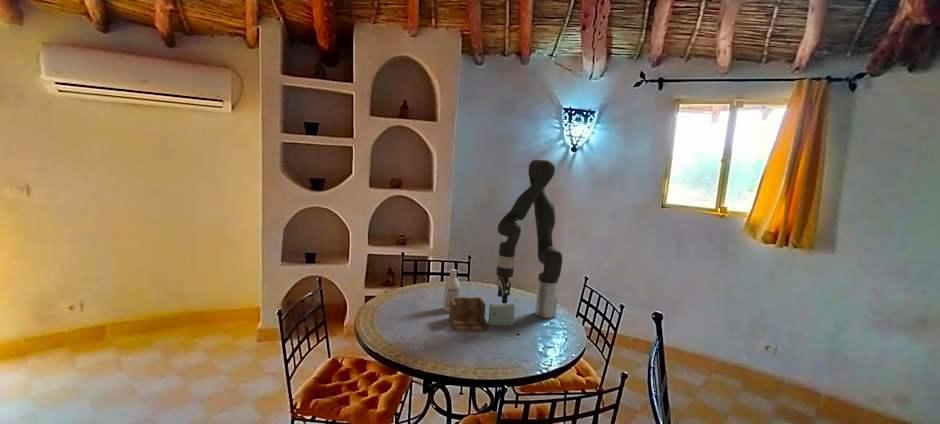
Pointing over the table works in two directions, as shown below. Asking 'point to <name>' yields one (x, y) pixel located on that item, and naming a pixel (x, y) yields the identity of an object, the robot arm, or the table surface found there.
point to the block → (501, 314)
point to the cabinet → (467, 314)
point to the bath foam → (451, 289)
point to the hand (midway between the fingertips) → (502, 299)
